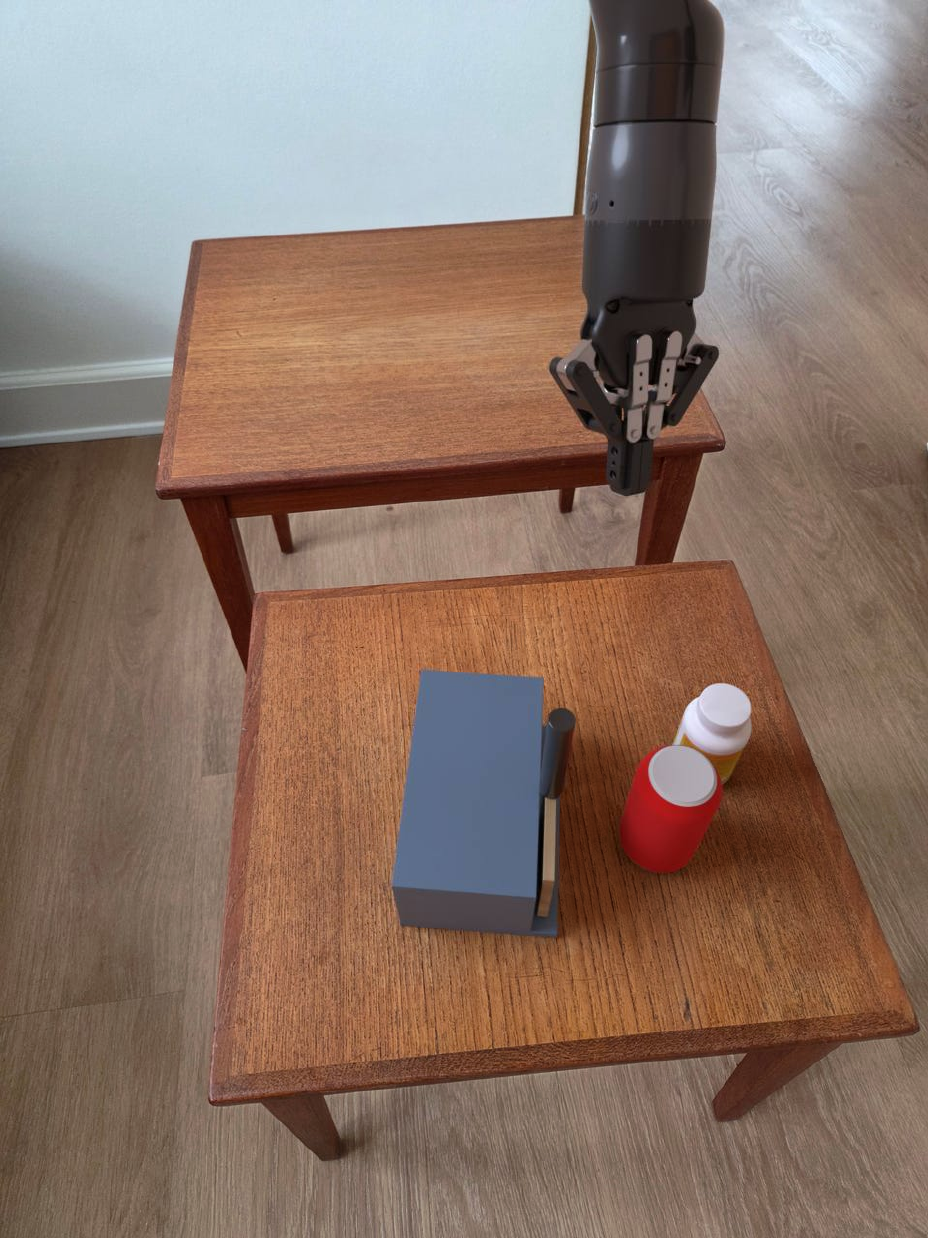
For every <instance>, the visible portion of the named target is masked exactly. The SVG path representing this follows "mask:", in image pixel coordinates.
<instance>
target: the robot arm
mask: <svg viewBox="0 0 928 1238" xmlns="http://www.w3.org/2000/svg"><path fill="white" fill-rule="evenodd" d="M587 2H588V5H589V11H590V15H591V21H592V25H593V29H594V35H595V40H596V62H595V76H594V95H593V96H594V97H593V99H594V100H593V118H592V127H593V129H592V133H591V134H592V136H591V143H590V149H589V155H588V161H587V168H586V179H585V200H584V201H585V202H584V224H583V225H584V226H583V228H584V229H583V246H582V247H583V250H582V271H581V272H582V273H581V292H582V294H583V296H584V297H585V300H586V304H587V305H586V312H585V316H584V319H583V321H582V323H581V326H580V329H579V338H580V341H579V342H578V343H577V344H576V345H575V347H573V348H572V350H571V351H570V352H569V353H568V354H567V355H566V356H565V357H562V356H555V357H553V358H551V361H550V362H549V364H548V370H549V374H550V375H551V377H552V378H553V380H554V382H555V383H556V384H557V386H558V387H559V389H560V391H561V392H562V394H563V396H564V398H565V399H566V400H567V402H568V403H569V405H570V407H571V408H572V410H573V412H574V414H576V416H577V418H578V419H579V421H580V423H581V424H582V426H583V428H584V429H585V430H587V431H590V432H594V433H597V434H601V435H603V436H605V437H606V439H607V449H606V450H607V451H606V467H605V468H606V470H605V480H606V484H607V486H608V485H609V489H610V490H611V491H612V492H613V493H615V494H618V495H621V496H623V497H631V496H636V495H639V494H644V493H645V492H646V491H647V487H648V484H649V482H650V479H651V477H652V467H653V457H654V444H655V439H657V438H658V437H659V436H660V434H661V432H662V430H663V429H664V428H666V427H668V426H669V427H677V425H679V424H680V422H681V421H682V419H683V417H684V416H685V413H686V412H687V410H688V409H689V407H690V406H691V404H692V402H693V400H694V399H695V397H696V396H697V394H698V392H699V391H700V389H701V388H702V385H703V384H704V383H705V381H706V379H707V377H708V376H709V374H710V373H711V371H712V369H713V367H714V366H715V364H716V363H717V361H718V359H719V356H720V350H719V347H718V346H717V345H711V344H708V343H705V342H704V341H703V340H702V339H701V337H699V335H698V334H697V333H696V329H697V317H696V314H695V310H694V300H695V299H697V298H699V297H700V296H702V294H703V293H704V292H705V288H706V280H707V279H706V278H707V269H708V262H709V261H708V260H709V251H710V240H711V231H712V230H711V229H712V222H713V211H714V201H715V200H714V199H715V192H716V183H717V182H716V181H717V171H718V170H717V168H718V167H717V166H718V164H717V163H718V162H717V161H718V158H717V157H718V155H717V129H718V126H717V123H718V116H719V108H720V107H719V106H720V96H721V86H722V78H723V77H722V75H723V67H724V66H723V65H724V56H725V37H726V36H725V34H726V33H725V24H724V23H725V22H724V19H723V16H722V13H721V12H720V10H719V9H718V8H717V7H716V5H714V4H713V2H712V1H710V0H587ZM597 380H598V381H597ZM649 386H652V387H649ZM672 397H673V398H672ZM669 402H670V403H669Z"/></svg>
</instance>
